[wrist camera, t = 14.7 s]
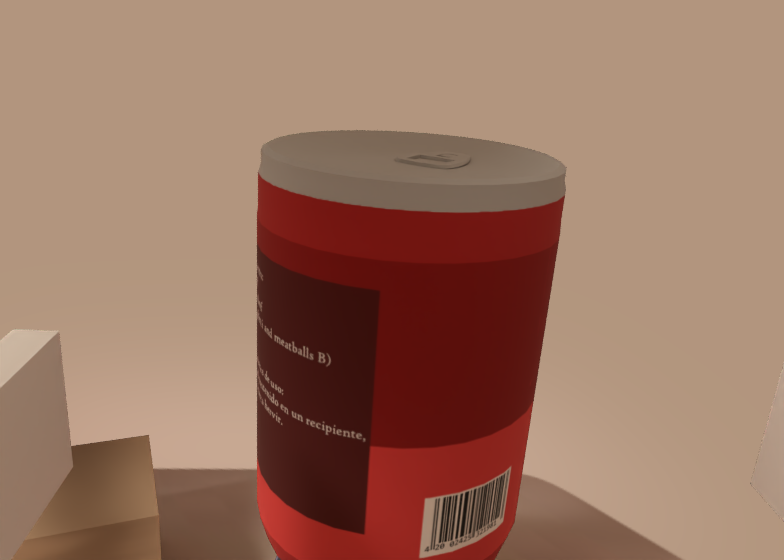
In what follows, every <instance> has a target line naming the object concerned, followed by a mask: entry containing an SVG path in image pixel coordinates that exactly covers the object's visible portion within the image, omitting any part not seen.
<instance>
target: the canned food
mask: <svg viewBox="0 0 784 560" xmlns="http://www.w3.org/2000/svg"><path fill="white" fill-rule="evenodd" d="M565 174H566V167H565V166H564V165H563V164H562V163H561V162H560V161H558V160H557V159H555V158H553V157H551V156H549V155H547V154H544V153H541V152H538V151H535V150H532V149H528V148H524V147H520V146H515V145H510V144H505V143H500V142H494V141H487V140H481V139H473V138H466V137H458V136H448V135H438V134H427V133H414V132H395V131H365V130H364V131H363V130H359V131H358V130H356V131H321V132H308V133H299V134H292V135H287V136H283V137H279V138H276V139H274V140H271V141H269V142H267V143H266V144H264V145H263V146H262V148H261V164H260V168H259V172H258V211H257V503H258V507H259V512H260V517H261V520H262V523H263V526H264V528H265V531H266V534H267V536H268V539H269V541H270V543H271V545H272V547H273V548H274V550H275V552H276V554H277V556H278V557H279V558H280V559H281V560H494V559H495V558H496V556H497V554H498V552H499V551H500V549H501V547H502V545H503V543H504V541H505V540H506V538H507V536H508V534H509V532H510V530H511V528H512V526H513V524H514V521H515V515H516V508H517V502H518V496H519V489H520V483H521V477H522V470H523V464H524V458H525V451H526V445H527V439H528V432H529V426H530V419H531V413H532V407H533V401H534V394H535V388H536V382H537V375H538V369H539V363H540V356H541V349H542V344H543V337H544V331H545V325H546V318H547V312H548V305H549V299H550V293H551V287H552V280H553V274H554V268H555V261H556V255H557V249H558V243H559V236H560V227H561V217H562V211H563V204H564V198H565V191H566V189H565Z"/></svg>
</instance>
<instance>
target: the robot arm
mask: <svg viewBox="0 0 784 560" xmlns="http://www.w3.org/2000/svg"><path fill="white" fill-rule="evenodd" d="M72 468H73V460H72V451H71V441H70V431H69V423H68V412H67V403H66V393H65V383H64V375H63V365H62V355H61V345H60V336H59V331H46V330H19V329H14V330H12V331H11V332H10V333H9V334H7V335H6V336H5V337H4V338H3V339H1V340H0V560H11V559H12V558H13V556H14V555H15V553H16V552H17V550H18V549H19V547H20V546H21V544H22V543H23V541H24V540H25V538H26V537H27V535H28V534H29V532H30V531H31V529H32V528H33V526H34V525H35V523H36V522H37V520H38V519H39V517H40V516H41V514H42V513H43V511H44V510H45V508H46V507H47V505H48V504H49V502H50V501H51V499H52V498H53V496H54V495H55V493H56V492H57V490H58V489H59V487H60V486H61V484H62V483H63V481H64V480H65V478H66V477H67V475H68V474H69V472H70V471H71V469H72ZM750 484H751V485H752V486H753V487H754V489H755V490H756V491H757V492H758V493H759V494H760V495H761V497H762V498H763V499H764V500H765V501H766V502H767V503H768V504H769V506H770V507H771V508H772V509H773V510H774V511H775V512H776V513H777V514H778V516H779V517H780V518H781V519H782V520H783V521H784V364H783V367H782V371H781V375H780V378H779V382H778V385H777V389H776V393H775V396H774V400H773V404H772V407H771V411H770V415H769V418H768V422H767V426H766V429H765V433H764V436H763V440H762V444H761V447H760V451H759V454H758V458H757V462H756V465H755V469H754V472H753V476H752V480H751V483H750Z"/></svg>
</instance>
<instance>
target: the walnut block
mask: <svg viewBox="0 0 784 560" xmlns="http://www.w3.org/2000/svg"><path fill="white" fill-rule="evenodd" d="M71 451H72V460H73V468H72V469H71V471H70V472H69V474H68V475H67V477H66V478H65V480H64V481H63V483H62V484H61V486H60V487H59V489H58V490H57V492H56V493H55V495H54V496H53V498H52V499H51V501H50V502H49V504H48V505H47V507H46V508H45V510H44V511H43V513H42V514H41V516H40V517H39V519H38V520H37V522H36V523H35V525H34V526H33V528H32V529H31V531H30V532H29V534H28V535H27V537H26V538H25V540H24V541H23V543H22V544H21V546H20V547H19V549H18V550H17V552H16V553H15V555H14V556H13V558H12V559H11V560H161V543H160V526H159V513H158V505H157V497H156V489H155V481H154V473H153V465H152V458H151V450H150V442H149V435H146V436H139V437H132V438H125V439H118V440H112V441H104V442H97V443H90V444H83V445H76V446H71Z"/></svg>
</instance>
